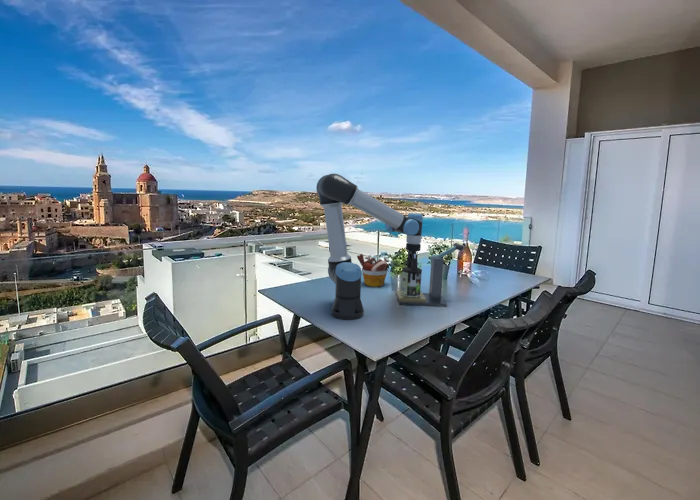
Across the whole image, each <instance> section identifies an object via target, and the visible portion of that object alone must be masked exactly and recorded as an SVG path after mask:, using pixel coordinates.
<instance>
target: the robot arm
mask: <svg viewBox="0 0 700 500" xmlns="http://www.w3.org/2000/svg"><path fill="white" fill-rule="evenodd" d="M316 193H317V195H318V197H319V204H320V205H319V206H321V207H322V208H323V211H324V212H323V213H324V217H325V218H324V220H325V227H326V231H327V232H326V234H327V241H328V248H329V257H328V259H327V263H328V264H327V265H328V268H327V275H328V277H329V278H330V279H331V281H332V282H333V283H334V284H335V298H334V300H333V304H332V306H331V316H333V317H334V318H337V319H340V320H356V319H360V318H362V317H363V316H364V313H365V310H364V307H363V303H362V299H361V292H362V291H361V289H362V276H363V273H362V268H361V266H360V265H359V264H357V263H354V262H352V256H351V255H350V254H349V253H348V247H347V246H348V245H347V238H346V230H345V222H344V216H343V214H344V213H343V207H342V206H343V204H344V205H346V206H349V205H351V206H352V207H354V208H356V209H358V210H360V211H362V212H364V213H366V214H367V215H369V216H372V217H373V218H375V219H377V220H378V221H380V222H382V223H383V224H384V228H385V230H386V231H387V232H390V233H393V232H394V233H398V234H399V233H400V234H402V235H403V234H404V235H406V242H405V243H406V244H405V245H406V246H405V250H406V251H408V254H407V260H406V267H411V272H410V274H411V279H410V286H416V274H417V273H418V272H417V268H418V254H417V252H421V248H422V247H421V245H422V244H421V243H422V239H423V237H422V233H423V231H422V230H423V224H424V219H423V217H424V216H423V214H422V213H412V212H411V213H408V215H407V216H406V215H404V214H403V213H401V212H399V211H397V210H396V209H394V208H392V207H390V206H388V205H387V204H385V203H383V202H382V201H380V200H378V199H376V198H374V197H373V196H371V195H369V194H368V193H366V192H364V191H362V190H360V189H359V188H358V185H357V184H355V183H353V182H351V181H350V180H348V179H347V178H346V177H344V176H343V175H340V174H338V173H329V174H326V175H325V174H324V175H322V177H320V178H319V179H318V181H317V183H316Z"/></svg>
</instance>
